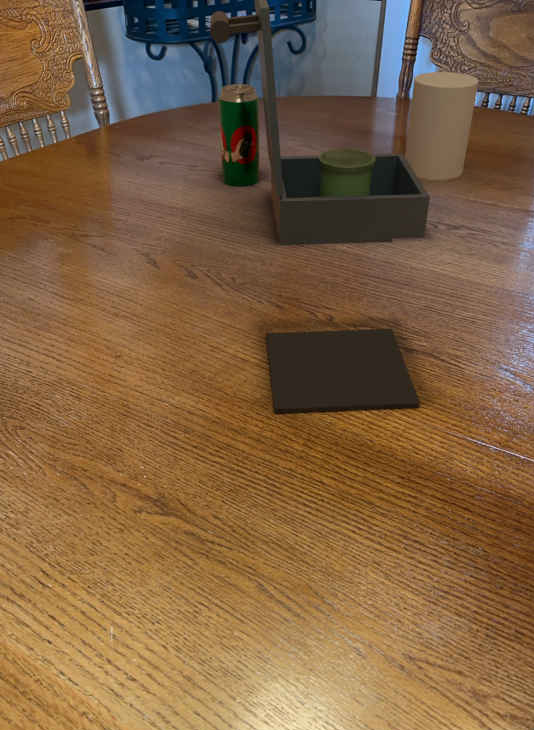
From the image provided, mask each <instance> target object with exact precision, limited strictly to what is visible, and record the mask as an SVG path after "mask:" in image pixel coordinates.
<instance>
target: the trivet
mask: <svg viewBox="0 0 534 730" xmlns="http://www.w3.org/2000/svg"><path fill="white" fill-rule="evenodd" d="M265 338H266V341H265V342H266V348H267V349H266V350H267V358H268V367H269V375H270V383H271V391H272V400H273V402H272V403H273V409H274V414H275V415H276V414H297V413H298V414H299V413H301V414H302V413H322V412H323V413H324V412H343V411H347V412H348V411H369V410H370V411H371V410H373V411H374V410H393V409H416V408H417V409H418V408H420V406H421V402H420V399H419V397H418V396H419V395H417V391H416V389H415V386H414V384H413V381H412V378H411V376H410V373H409V370H408V367H407V365H406V362H405V360H404V357H403V354H402V352H401V349H400V346H399V344H398V341H397V339H396V336H395V333H394V331H393V328H371V329H369V328H367V329H343V330H340V329H339V330H315V331H291V332H290V331H288V332H266V333H265Z"/></svg>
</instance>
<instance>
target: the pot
mask: <svg viewBox="0 0 534 730" xmlns="http://www.w3.org/2000/svg"><path fill="white" fill-rule="evenodd" d="M373 154H374V153H371V152H369V151H366V150H361V149H358V148H357V149H356V148H334V149H329V150H326V151H322V152H321V153H320V154H319V155H318V156H319V157H318V163H319V165H320V166H321V169H320V192H319V197H345V196H370V187H371V176H372V168H373V167H374V166H375V161H376V158H375V156H374V155H373Z"/></svg>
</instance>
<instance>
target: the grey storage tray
mask: <svg viewBox="0 0 534 730" xmlns="http://www.w3.org/2000/svg"><path fill="white" fill-rule="evenodd" d="M372 154H373V155H374V156H375V158H376V161H375V166H374V167H373V168H372V176H371V187H370V196H345V197H319V192H320V169H321V166H320V165H319V163H318V157H319V155H298V156H297V155H296V156H292V155H291V156H290V155H289V156H281V168H282V181H283V194H284V195H283V196H279V197H277V196H276V192H275V187H274V181H273V176H272V171H271V170H270V171H271V172H270V175H271V176H270V179H271V180H270V181H271V182H270V183H271V185H270V189H271V190H270V191H271V192H270V193H271V196H270V197H271V198H270V199H271V204H272V209H273V214H274V215H273V216H274V220H275V226H276V231H277V232H276V233H277V238H278V243H279V244H278V245H279V246H303V245H335V244H339V245H340V244H366V243H393V240H392V239H418V238H419V239H421V238H425V234H426V233H425V232H426V226H427V219H428V212H429V205H430V200H431V196H430V194H429V193H428V192H427V190H426V189H425V186H424V185H423V184H422V182H421V180H420V178H418V177H417V176H416V174H415V172H414V171H413V169H412V168H411V166H410V164H409V163H408V161H407V160H406V158H405V155H404V153H372Z"/></svg>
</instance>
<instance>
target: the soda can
mask: <svg viewBox="0 0 534 730" xmlns="http://www.w3.org/2000/svg"><path fill="white" fill-rule="evenodd" d="M220 91H221V92H220V94H219V97H218V114H219V117H218V118H219V135H220V156H221V157H220V159H221V173H222V174H221V177H222V183H223V184H225V185H226V186H229V187H236V188H246V187H251V186H255V185H257V184H258V183H260V178H261V177H260V176H261V175H260V110H259V109H260V107H259V106H260V105H259V104H260V103H259V102H260V101H259V100H260V99H259V98H260V97H259V95H258V94H257V92H256V87H255V86H254V85H251V84H243V83H232V84H227V85H225V86H222V87H221V88H220Z"/></svg>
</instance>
